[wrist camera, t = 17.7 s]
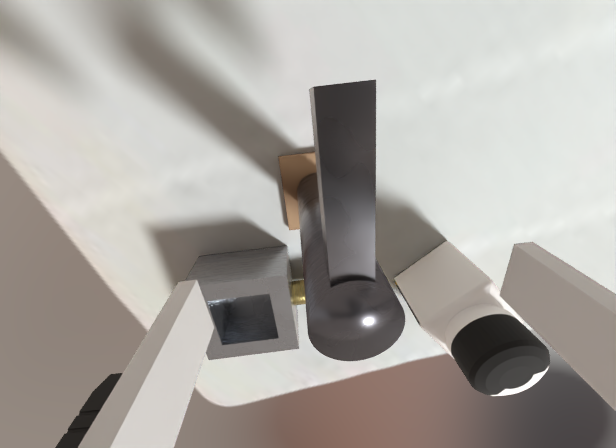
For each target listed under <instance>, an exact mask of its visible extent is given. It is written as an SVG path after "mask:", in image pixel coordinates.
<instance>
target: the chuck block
mask: <svg viewBox="0 0 616 448" xmlns="http://www.w3.org/2000/svg"><path fill="white" fill-rule="evenodd" d="M190 280H197V281H198V284H199V287H200V290H201V292H202V295H203V298H204V301H205V303H206V306H207V309H208V312H209V314H210V317H211V320H212V323H213V325H214V330H213V333H212V336H211V339H210V342H209V345H208V347H207V350H206V354H207V357H208V359H209V360H213V359H221V358H228V357H236V356H244V355H252V354H260V353H268V352H276V351H284V350H291V349H299V336H298V312H297V305H301V304H306V300H305V288H304V280H298V281H293V280H292V274H291V268H290V261H289V255H288V249H287V246H280V247H272V248H263V249H255V250H247V251H239V252H230V253H222V254H214V255H206V256H199V257H198V259H197V261H196V262H195V264H194V266H193V268H192V269H191V271H190V273H189V275H188V276H187V278H186V280H185V281H190Z"/></svg>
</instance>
